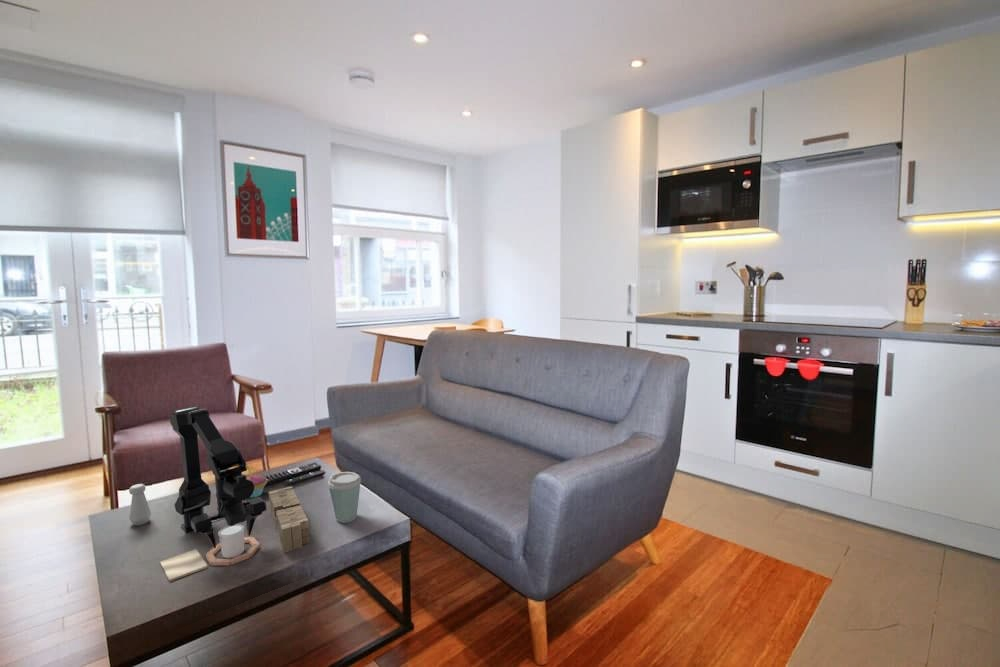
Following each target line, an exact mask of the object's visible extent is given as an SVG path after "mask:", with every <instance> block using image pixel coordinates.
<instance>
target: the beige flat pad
mask: <svg viewBox="0 0 1000 667" xmlns="http://www.w3.org/2000/svg"><path fill="white" fill-rule="evenodd" d="M159 563H160V566H161V568H162V570H163V572H164V573H165V576H166V577H167V579H168V582H170V583H171V582H174V581H176V580H178V579H182V578H184V577H186V576H188V575H191V574H195V573H196V572H199V571H202V570H205V569H207V568H208V564H207V562H206V561H205V560H204V559H203V556H202V555H201V553H200V552H199V551H198V549H197V548H194V549H192V550H189V551H186V552H183V553H181V554H177V555H174V556H172V557H170V558H165V559H164V560H161V561H159Z"/></svg>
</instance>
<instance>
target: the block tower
mask: <svg viewBox="0 0 1000 667" xmlns="http://www.w3.org/2000/svg"><path fill="white" fill-rule="evenodd" d="M293 488H294V487H293V486H287V487H283V488H279V489H276V490H271V491H268V498H269V505H270V507H269V508H270V515H271V519H272V521H273V524H274V528H275V529H276V533H277V534H278V537H279V538H278V539H279V542H280V544H281V548H282V552H283V553H287V551H288V552H291V551H294V550H298V549H301V548H303V545H306V544H309V542H310V528H309V526H310V524H309V519H308V517H307V514H306V513H305V511H304V509H303V507H302V504H301V501H300V500H299V499H298V497H297V494H296V492H295V491H294V489H293ZM305 543H306V544H305ZM310 543H311V542H310ZM302 544H303V545H302ZM300 547H301V548H300ZM297 548H298V549H297ZM293 549H294V550H293ZM290 550H291V551H290Z"/></svg>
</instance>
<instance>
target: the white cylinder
mask: <svg viewBox="0 0 1000 667" xmlns="http://www.w3.org/2000/svg"><path fill="white" fill-rule="evenodd" d="M245 529H246V528H245V526H244V525H242V524H235V525H233V526H229V525H227V526H225V527H224V528H221V529H220V530H219V531H218V533H217V535H218V540H219V543H220V546H221V549H220V550H221V555H222V557H224V559H232V558H234V557H237V556H239V555H242V553H244V551H245V543H244V537H245Z"/></svg>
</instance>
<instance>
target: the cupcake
mask: <svg viewBox="0 0 1000 667" xmlns="http://www.w3.org/2000/svg"><path fill="white" fill-rule="evenodd" d="M246 468H247V471H248V475H249V476H248V477H247V476H246V479H248V480H250V481H252V482H253V484H254V491H253V493H252V495H251V496H250V497H249V498H250V499H253V498H256V497H261V495H262V494H263V490H264V487H265V486H266V485H267V483H268V480H267V477H266V476H263V475H259V474H256V475H252V472H251V468H250V465H249V464H248V463H246Z"/></svg>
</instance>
